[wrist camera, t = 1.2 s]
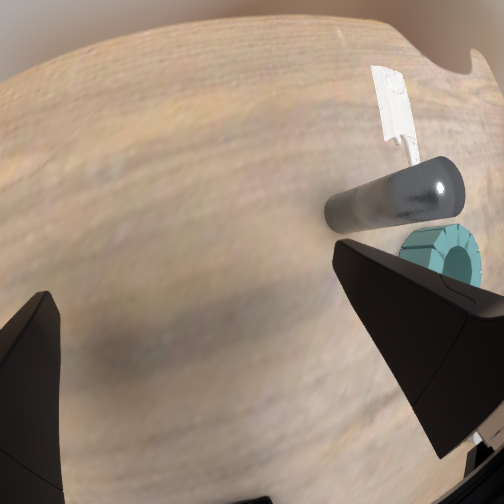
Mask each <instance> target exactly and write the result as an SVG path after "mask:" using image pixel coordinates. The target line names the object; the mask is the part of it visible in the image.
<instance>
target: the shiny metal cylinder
mask: <svg viewBox="0 0 504 504" xmlns="http://www.w3.org/2000/svg"><path fill="white" fill-rule="evenodd" d="M464 203H465V187H464V182H463V179H462V176H461V174H460V172H459V170H458V169H457V167H456V166H455V164H454V163H453V162H452V161H451V160H449V159H448V158H446V157H443V156H439V157H436V158H433V159H430V160H427V161H425V162H422V163H419V164H417V165H414V166H411V167H408V168H406V169H403V170H400V171H398V172H395V173H392V174H390V175H387V176H384V177H382V178H379V179H376V180H374V181H371V182H369V183H366V184H363V185H361V186H358V187H355V188H353V189H350V190H348V191H345V192H342V193H340V194H337V195H335V196H333V197H331V198H330V199H329V200H328V202H327V204H326V206H325V218H326V221H327V223H328V225H329V226H330V228H331V229H332V230H334V231H335V232H337V233H341V234H346V233H352V232H359V231H365V230H372V229H378V228H385V227H391V226H398V225H404V224H411V223H417V222H424V221H431V220H437V219H444V218H450V217H456V216H457V215H459V214H460V213H461V211H462V209H463V207H464Z"/></svg>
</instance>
